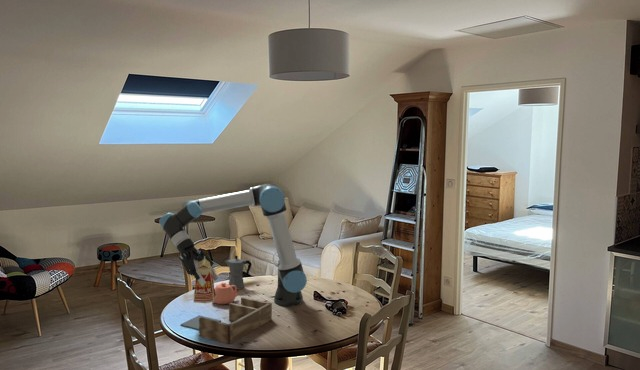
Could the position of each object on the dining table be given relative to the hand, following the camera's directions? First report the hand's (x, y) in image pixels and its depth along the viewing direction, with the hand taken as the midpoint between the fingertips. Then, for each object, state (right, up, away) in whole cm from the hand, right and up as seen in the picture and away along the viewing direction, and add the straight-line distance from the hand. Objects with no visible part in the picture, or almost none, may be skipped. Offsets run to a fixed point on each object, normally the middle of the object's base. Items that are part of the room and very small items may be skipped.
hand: (210, 281), depth 238 cm
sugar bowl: (0, -17, +35) cm, 39 cm away
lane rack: (+12, -21, +2) cm, 24 cm away
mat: (-6, -20, +5) cm, 22 cm away
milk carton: (-3, -9, +3) cm, 10 cm away
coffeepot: (+3, -14, +61) cm, 62 cm away
